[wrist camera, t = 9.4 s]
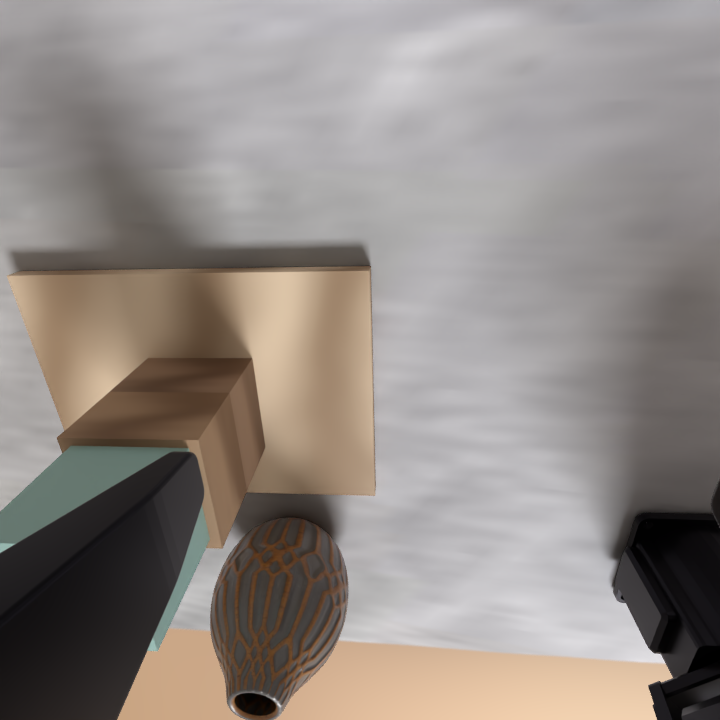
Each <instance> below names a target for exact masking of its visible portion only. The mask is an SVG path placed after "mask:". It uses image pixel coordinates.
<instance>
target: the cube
mask: <svg viewBox="0 0 720 720" xmlns="http://www.w3.org/2000/svg"><path fill="white" fill-rule="evenodd" d="M173 451H184V452H190V451H189V448H159V447H111V446H70V447H69V448H68V449H67V450H66V451H65V452H64V453H63V454H61V455H60V456H59V457H58V458H57V459H56V460H55V461H54V462H53V463H52V464H51V465H50V466H49V467H48V468H47V469H45V470H44V471H43V472H42V473H41V474H40V475H39V476H38V477H37V478H36V479H35V480H34V481H33V482H32V483H31V484H29V485H28V486H27V487H26V488H25V489H24V490H23V491H22V492H21V493H20V494H19V495H18V496H17V497H16V498H14V499H13V500H12V501H11V502H10V503H9V504H8V505H7V506H6V507H5V508H4V509H3V510H2V511H1V512H0V553H1V552H3V551H4V550H6V549H8V548H9V547H11V546H13V545H14V544H16V543H18V542H19V541H21V540H23V539H24V538H26V537H28V536H29V535H31V534H33V533H35V532H36V531H38V530H40V529H41V528H43V527H45V526H46V525H48V524H50V523H51V522H53V521H55V520H56V519H58V518H60V517H61V516H63V515H65V514H67V513H68V512H70V511H72V510H73V509H75V508H77V507H78V506H80V505H82V504H83V503H85V502H87V501H88V500H90V499H92V498H94V497H95V496H97V495H99V494H100V493H102V492H104V491H105V490H107V489H109V488H110V487H112V486H114V485H115V484H117V483H119V482H120V481H122V480H124V479H126V478H127V477H129V476H131V475H132V474H134V473H136V472H137V471H139V470H141V469H142V468H144V467H146V466H147V465H149V464H151V463H152V462H154V461H156V460H158V459H159V458H161V457H163V456H164V455H166V454H168V453H170V452H173ZM209 540H210V537H209V533H208V529H207V524H206V520H205V516H204V511H203V507H202V506H201V509H200V513H199V516H198V519H197V522H196V525H195V528H194V532H193V535H192V538H191V541H190V544H189V547H188V550H187V554H186V557H185V560H184V563H183V566H182V569H181V572H180V575H179V578H178V581H177V583H176V586H175V588H174V590H173V593H172V595H171V598H170V600H169V602H168V604H167V607H166V609H165V611H164V614H163V616H162V618H161V620H160V623H159V625H158V627H157V629H156V632H155V634H154V636H153V639H152V641H151V643H150V645H149V648H148V650H147V651H158V649H159V647H160V645H161V643H162V640H163V639H164V637H165V634H166V632H167V630H168V628H169V626H170V624H171V622H172V619H173V617H174V615H175V613H176V611H177V609H178V607H179V605H180V602H181V600H182V598H183V596H184V594H185V592H186V590H187V587H188V585H189V583H190V581H191V579H192V577H193V575H194V572H195V570H196V568H197V566H198V564H199V562H200V560H201V557H202V555H203V553H204V551H205V549H206V547H207V545H208V542H209Z"/></svg>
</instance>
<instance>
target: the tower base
mask: <svg viewBox="0 0 720 720" xmlns="http://www.w3.org/2000/svg"><path fill="white" fill-rule="evenodd" d="M110 392H211V393H230V398H231V403H232V409H233V414H234V420H235V426H236V431H237V437H238V442H239V448H240V454H241V459H242V465H243V471H244V476H245V482H246V487H247V490H248V487H249V485H250V483H251V480H252V478H253V476H254V473H255V471H256V469H257V466H258V464H259V462H260V459H261V457H262V454H263V452H264V450H265V440H264V433H263V426H262V420H261V413H260V406H259V399H258V393H257V386H256V379H255V372H254V366H253V359H252V358H147V359H146V360H145V361H144V362H143V363H142V364H141V365H139V366H138V367H137V368H136V369H135V370H134V371H133V372H131V373H130V374H129V375H128V376H127V377H126V378H125V379H123V380H122V381H121V382H120V383H119V384H118V385H117V386H115V387H114V388H113V389H112V390H111V391H110Z"/></svg>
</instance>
